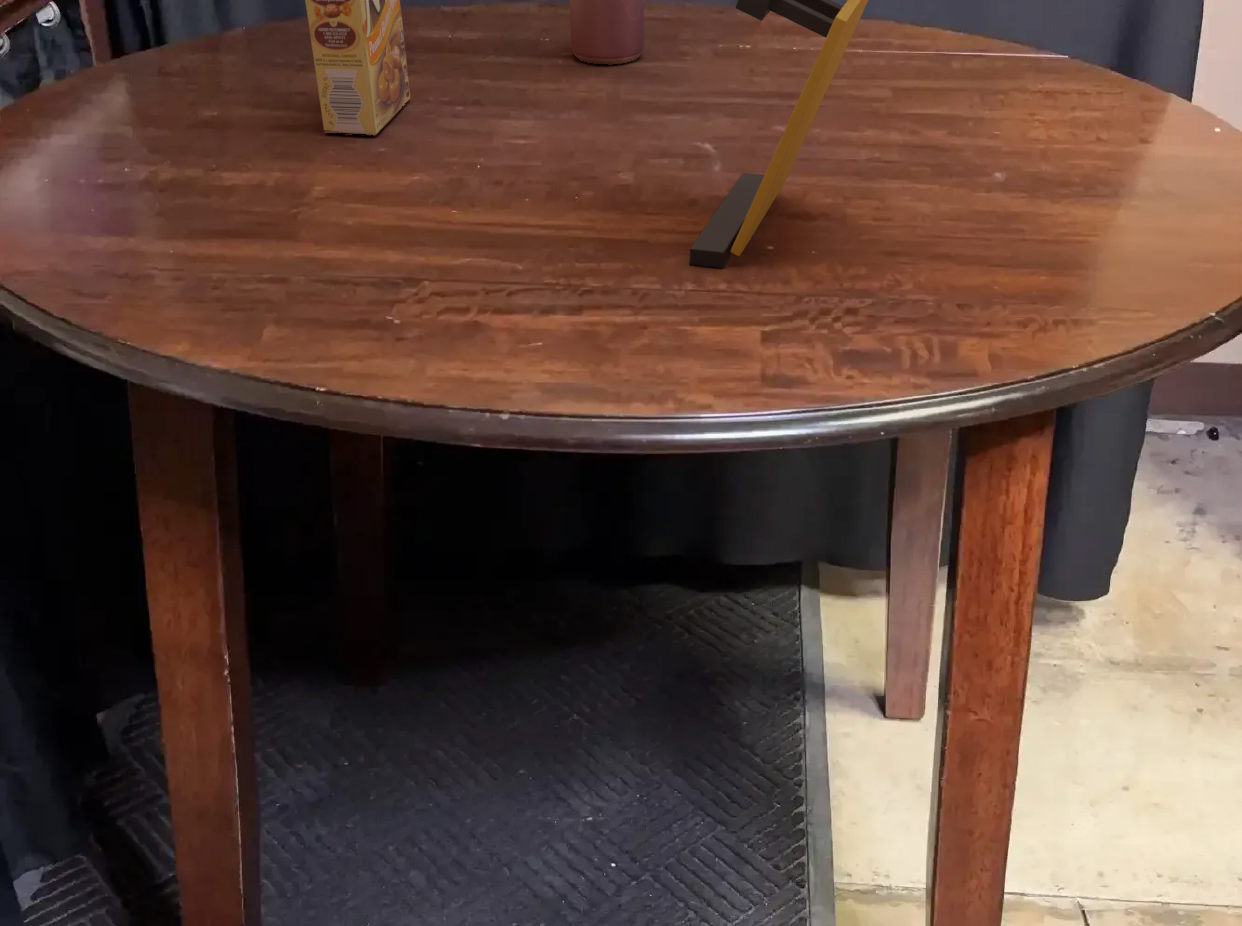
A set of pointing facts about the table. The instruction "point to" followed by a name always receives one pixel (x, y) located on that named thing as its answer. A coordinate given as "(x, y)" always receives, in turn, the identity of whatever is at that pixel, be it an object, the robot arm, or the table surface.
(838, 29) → the sign
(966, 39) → the table surface
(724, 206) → the bar
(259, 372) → the table surface
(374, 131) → the candy box
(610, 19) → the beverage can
